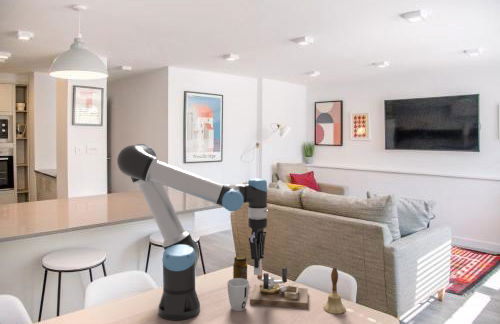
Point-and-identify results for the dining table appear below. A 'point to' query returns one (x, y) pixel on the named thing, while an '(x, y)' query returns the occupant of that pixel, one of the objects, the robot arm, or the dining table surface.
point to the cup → (238, 293)
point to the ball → (282, 289)
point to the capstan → (271, 282)
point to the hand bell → (334, 297)
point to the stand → (281, 297)
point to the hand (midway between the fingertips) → (257, 274)
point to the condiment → (240, 267)
